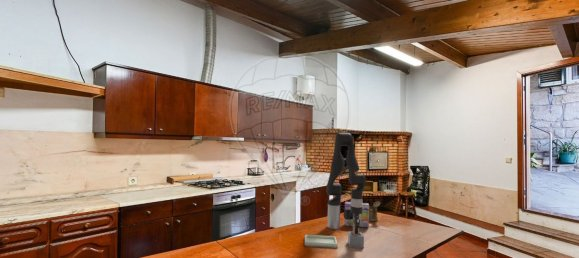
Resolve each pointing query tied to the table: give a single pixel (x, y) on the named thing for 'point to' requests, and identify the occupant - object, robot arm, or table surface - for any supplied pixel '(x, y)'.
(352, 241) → the grey cup
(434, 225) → the table surface
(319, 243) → the sage tray
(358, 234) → the birch peg
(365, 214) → the cake pan box
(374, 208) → the wooden mug
